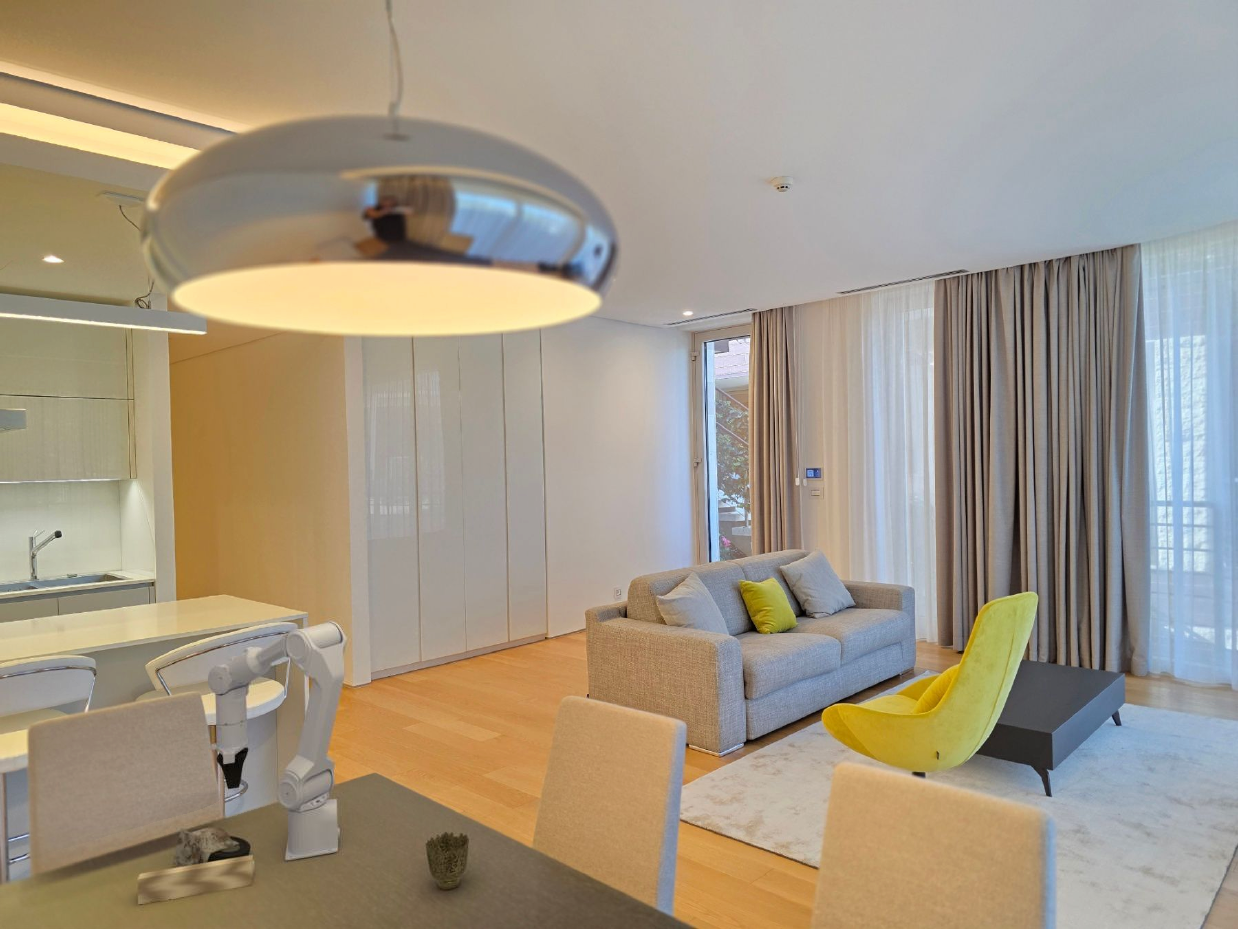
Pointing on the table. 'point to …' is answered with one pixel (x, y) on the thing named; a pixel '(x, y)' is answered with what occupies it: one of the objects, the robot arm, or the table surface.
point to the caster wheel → (208, 847)
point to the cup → (447, 858)
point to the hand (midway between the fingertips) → (233, 787)
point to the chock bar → (195, 879)
